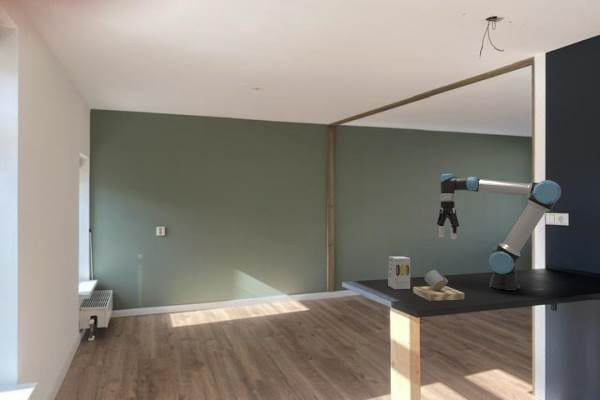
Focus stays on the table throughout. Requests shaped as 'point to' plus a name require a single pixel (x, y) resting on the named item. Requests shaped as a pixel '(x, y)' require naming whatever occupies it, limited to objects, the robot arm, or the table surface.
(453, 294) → the square wooden tile
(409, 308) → the table surface
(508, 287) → the robot arm
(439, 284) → the ceramic mug
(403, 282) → the supplement box
